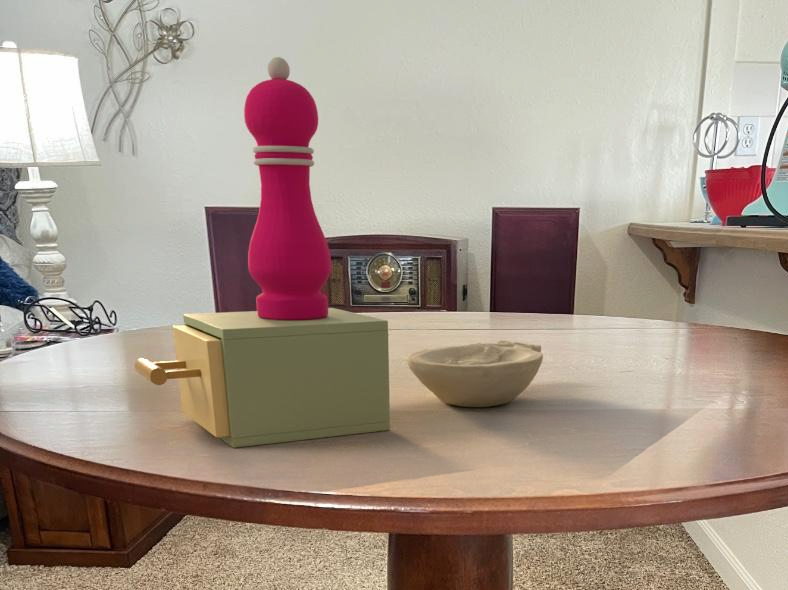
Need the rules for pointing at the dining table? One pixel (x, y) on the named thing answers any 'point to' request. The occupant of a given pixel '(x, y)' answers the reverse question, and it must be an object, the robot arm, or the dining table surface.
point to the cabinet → (301, 375)
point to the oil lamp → (477, 372)
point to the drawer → (195, 377)
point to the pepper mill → (286, 201)
